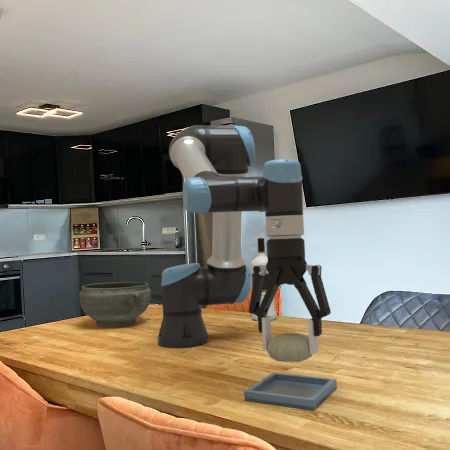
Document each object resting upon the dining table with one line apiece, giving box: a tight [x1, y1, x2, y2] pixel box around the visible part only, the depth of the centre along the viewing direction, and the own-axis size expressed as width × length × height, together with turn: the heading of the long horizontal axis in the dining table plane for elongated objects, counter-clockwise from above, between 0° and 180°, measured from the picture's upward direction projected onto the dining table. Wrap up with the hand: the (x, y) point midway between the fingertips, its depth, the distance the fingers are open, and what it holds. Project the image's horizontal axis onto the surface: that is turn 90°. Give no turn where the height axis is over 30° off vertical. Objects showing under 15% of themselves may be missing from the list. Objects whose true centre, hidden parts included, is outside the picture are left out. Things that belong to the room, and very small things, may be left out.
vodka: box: [250, 237, 278, 322], centre depth 187 cm, size 9×9×30 cm
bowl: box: [79, 281, 152, 329], centre depth 189 cm, size 32×26×15 cm
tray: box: [243, 372, 338, 411], centre depth 100 cm, size 14×14×2 cm
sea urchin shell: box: [267, 332, 314, 363], centre depth 100 cm, size 9×8×8 cm
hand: (290, 350), depth 100 cm, fingers closed on sea urchin shell, 9 cm apart
